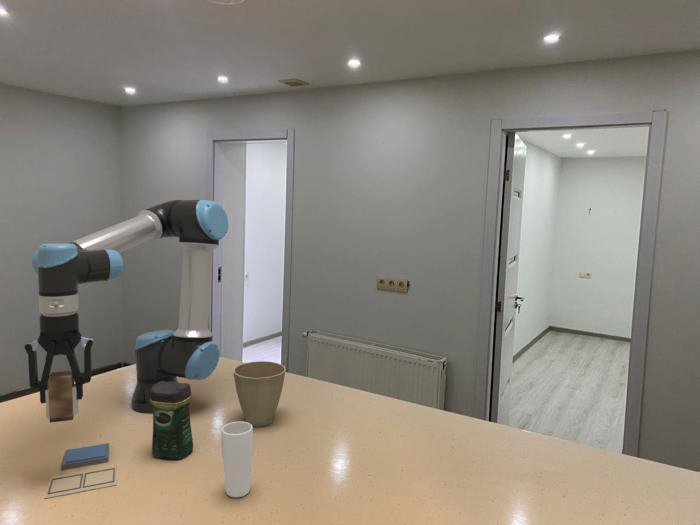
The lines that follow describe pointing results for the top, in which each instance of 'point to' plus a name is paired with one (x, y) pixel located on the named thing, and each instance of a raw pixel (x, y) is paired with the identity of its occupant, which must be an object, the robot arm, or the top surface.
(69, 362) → the robot arm
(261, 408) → the plant pot
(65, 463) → the ink pad
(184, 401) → the coffee jar
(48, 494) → the sheet
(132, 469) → the top surface
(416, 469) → the top surface
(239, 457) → the drinking glass
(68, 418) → the tall wooden block
